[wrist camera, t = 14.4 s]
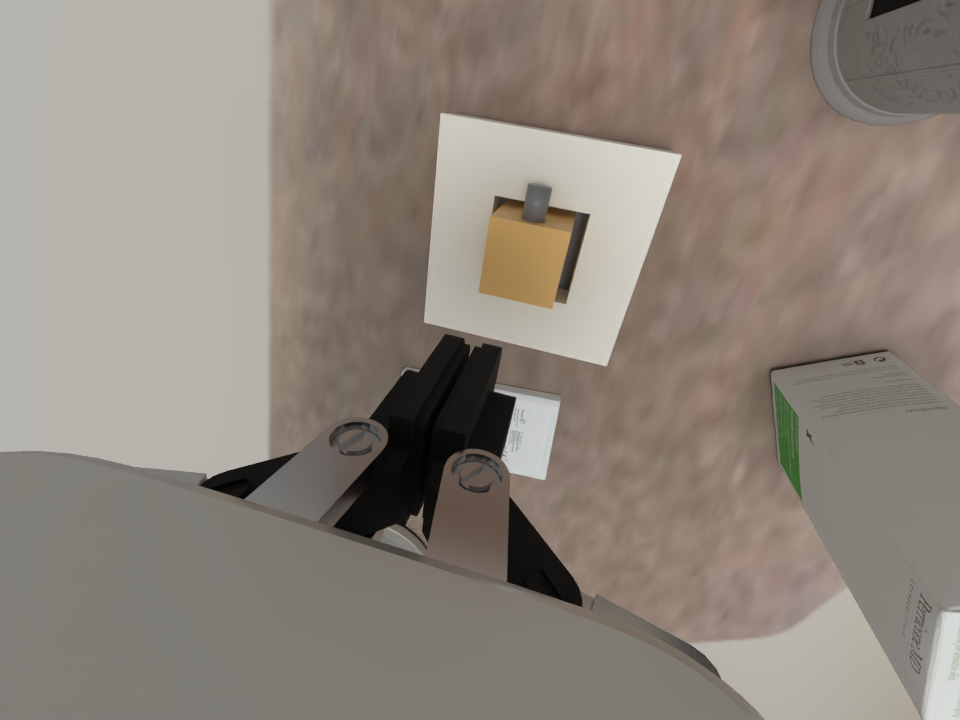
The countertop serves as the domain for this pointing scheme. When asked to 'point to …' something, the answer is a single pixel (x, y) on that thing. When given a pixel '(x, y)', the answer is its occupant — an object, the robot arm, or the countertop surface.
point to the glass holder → (888, 58)
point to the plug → (526, 248)
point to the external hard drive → (528, 430)
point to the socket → (575, 186)
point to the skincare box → (884, 505)
